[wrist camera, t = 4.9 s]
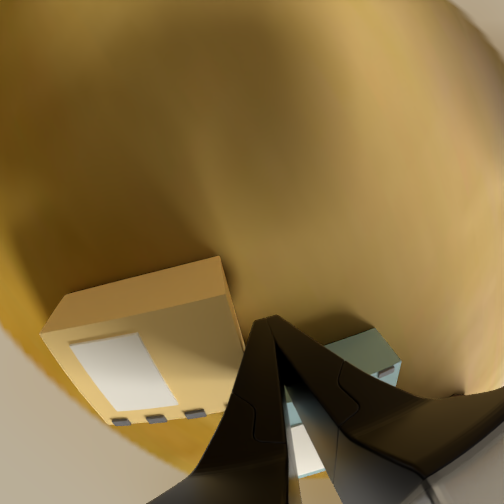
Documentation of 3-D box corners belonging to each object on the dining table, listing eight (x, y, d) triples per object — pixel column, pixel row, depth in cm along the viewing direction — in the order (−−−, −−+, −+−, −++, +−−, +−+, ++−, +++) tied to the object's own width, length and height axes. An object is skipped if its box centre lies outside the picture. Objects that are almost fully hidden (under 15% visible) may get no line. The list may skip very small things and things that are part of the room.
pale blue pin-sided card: (375, 327, 12) (403, 363, 10) (362, 424, 16) (376, 452, 13) (246, 367, 12) (256, 413, 9) (275, 452, 15) (284, 483, 13)
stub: (219, 255, 9) (226, 296, 7) (249, 358, 11) (259, 406, 9) (64, 294, 9) (37, 335, 7) (117, 382, 11) (107, 426, 9)
